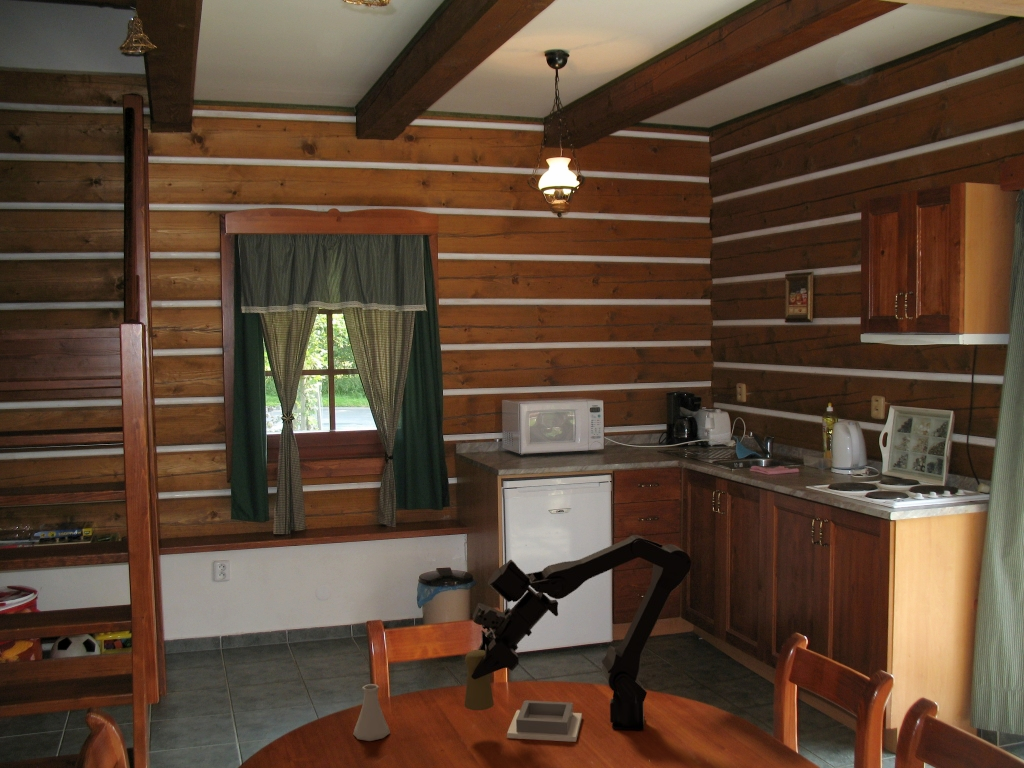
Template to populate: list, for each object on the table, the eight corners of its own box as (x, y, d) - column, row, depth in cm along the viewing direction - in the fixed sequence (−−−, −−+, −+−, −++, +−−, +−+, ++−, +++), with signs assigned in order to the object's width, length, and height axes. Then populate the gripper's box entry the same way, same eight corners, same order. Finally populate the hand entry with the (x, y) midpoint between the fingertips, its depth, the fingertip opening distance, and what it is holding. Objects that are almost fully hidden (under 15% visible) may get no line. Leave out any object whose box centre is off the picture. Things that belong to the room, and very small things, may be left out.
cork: (493, 710, 186) (491, 656, 186) (463, 710, 186) (461, 656, 186) (494, 698, 192) (493, 646, 192) (465, 699, 192) (463, 647, 192)
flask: (346, 735, 190) (345, 687, 190) (374, 724, 195) (373, 677, 195) (368, 745, 185) (367, 696, 185) (396, 733, 190) (395, 686, 190)
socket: (581, 717, 197) (581, 701, 196) (575, 741, 185) (575, 724, 185) (517, 714, 199) (516, 698, 199) (507, 737, 187) (506, 720, 187)
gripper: (490, 579, 198) (440, 633, 197) (500, 603, 179) (445, 663, 178) (527, 613, 199) (478, 667, 198) (541, 640, 181) (486, 700, 180)
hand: (471, 673), depth 189 cm, fingers closed on cork, 5 cm apart
